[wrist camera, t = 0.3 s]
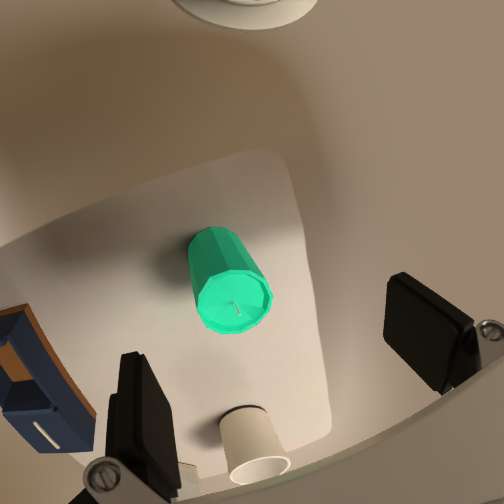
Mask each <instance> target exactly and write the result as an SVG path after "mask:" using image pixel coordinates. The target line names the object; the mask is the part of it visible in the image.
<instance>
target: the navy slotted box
mask: <svg viewBox="0 0 504 504" xmlns="http://www.w3.org/2000/svg"><path fill="white" fill-rule="evenodd" d="M0 406H1V408H2V409H3V410H2V413H3V416H4V417H5V418H6V419H7V420H8V422H9V423H10V424H11V425H12V426H13V427H14V428H15V429H16V430H17V431H18V432H19V433H20V435H21V436H22V437H23V438H24V439H25V440H26V441H27V442H28V443H29V444H30V445H32V447H33V448H34V449H35V450H37V451H38V452H39V453H73V452H90V451H93V444H94V433H95V423H96V412H95V411H94V409H93V408H92V407H91V405H90V404H89V403H88V401H87V400H86V398H85V397H84V396H83V394H82V393H81V391H80V390H79V389H78V387H77V386H76V384H75V383H74V381H73V380H72V378H71V377H70V375H69V374H68V372H67V371H66V369H65V368H64V366H63V365H62V363H61V362H60V360H59V358H58V357H57V355H56V353H55V352H54V350H53V348H52V347H51V345H50V343H49V342H48V340H47V338H46V336H45V335H44V333H43V331H42V329H41V327H40V326H39V324H38V322H37V320H36V318H35V316H34V314H33V312H32V310H31V308H30V306H29V304H25V305H21V306H18V307H14V308H10V309H7V310H3V311H0Z"/></svg>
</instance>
